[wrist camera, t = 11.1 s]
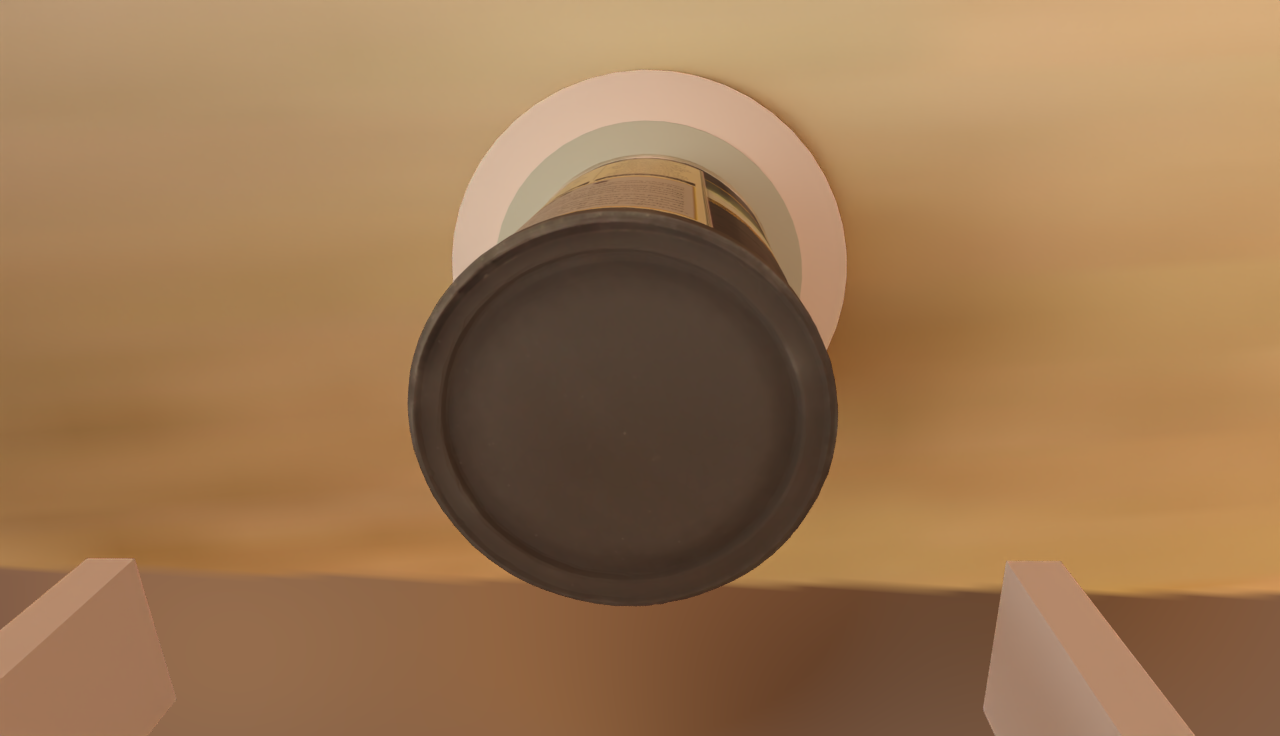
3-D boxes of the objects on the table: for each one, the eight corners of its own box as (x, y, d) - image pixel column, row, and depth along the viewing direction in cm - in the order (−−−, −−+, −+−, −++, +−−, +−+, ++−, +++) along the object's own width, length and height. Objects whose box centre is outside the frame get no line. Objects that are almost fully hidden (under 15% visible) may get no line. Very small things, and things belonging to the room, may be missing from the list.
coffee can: (822, 220, 31) (925, 333, 18) (704, 436, 34) (715, 664, 21) (579, 102, 30) (497, 129, 17) (483, 337, 33) (351, 513, 20)
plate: (479, 444, 37) (471, 458, 35) (438, 75, 31) (428, 76, 30) (830, 444, 36) (835, 458, 34) (854, 63, 30) (862, 63, 29)
